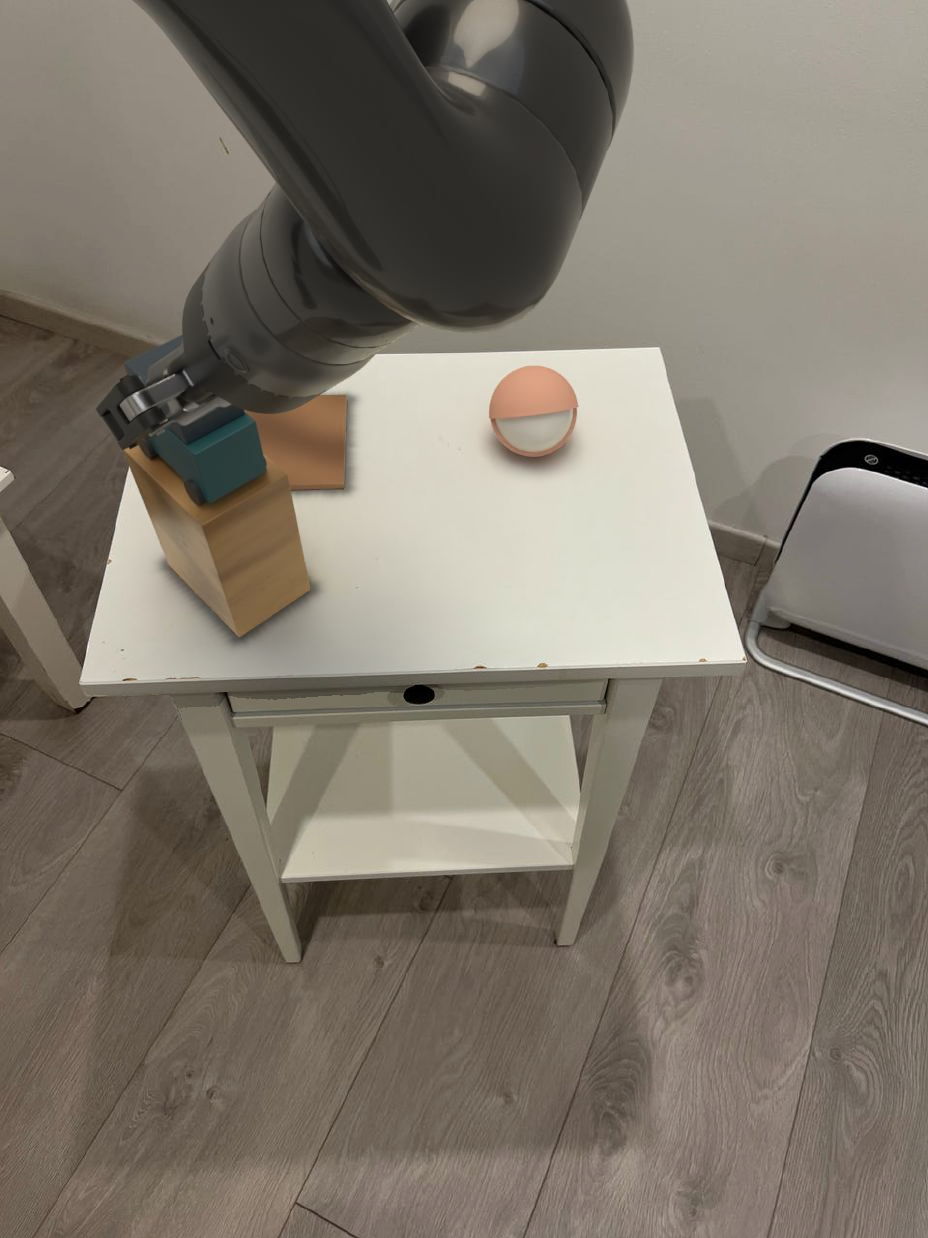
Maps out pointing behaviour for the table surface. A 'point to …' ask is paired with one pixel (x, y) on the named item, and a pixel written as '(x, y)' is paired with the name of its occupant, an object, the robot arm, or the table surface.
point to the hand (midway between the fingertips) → (201, 390)
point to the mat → (307, 442)
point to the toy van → (204, 442)
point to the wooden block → (228, 540)
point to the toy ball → (533, 411)
